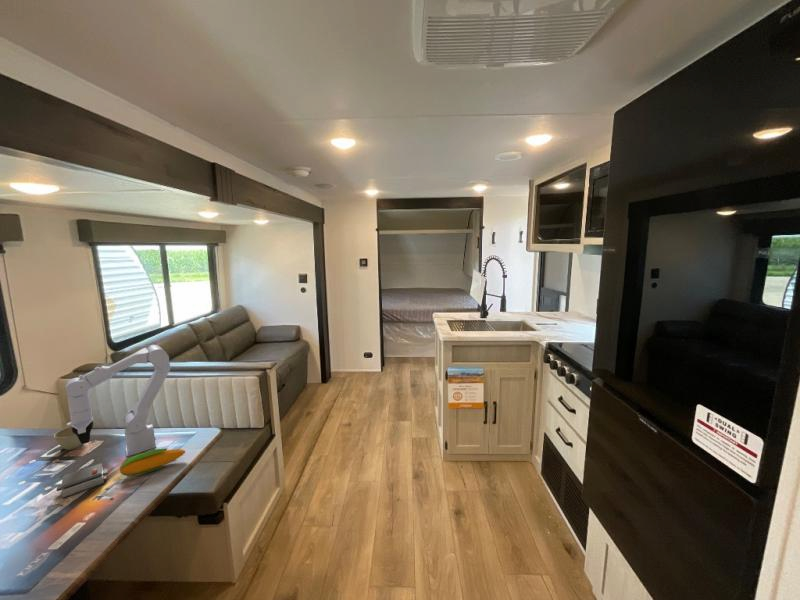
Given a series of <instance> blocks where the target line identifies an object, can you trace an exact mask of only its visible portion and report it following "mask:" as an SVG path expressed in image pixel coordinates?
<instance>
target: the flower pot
mask: <svg viewBox="0 0 800 600" xmlns="http://www.w3.org/2000/svg"><path fill="white" fill-rule="evenodd" d="M72 428H73V427H72V426H68V427H65V428H63V429H60V430H58V431H57V432H56V433H54V435H53V437H54V440H55V441H56V443H57V444H58V445H59V446H60V447H62V449H64V450H67V451H70V450H74V449H77V448H79V447H81V446H82V445H83V444H81V442H80V440H79V438H78V437H77V435H76V434H75V433H73V432H72Z"/></svg>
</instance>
